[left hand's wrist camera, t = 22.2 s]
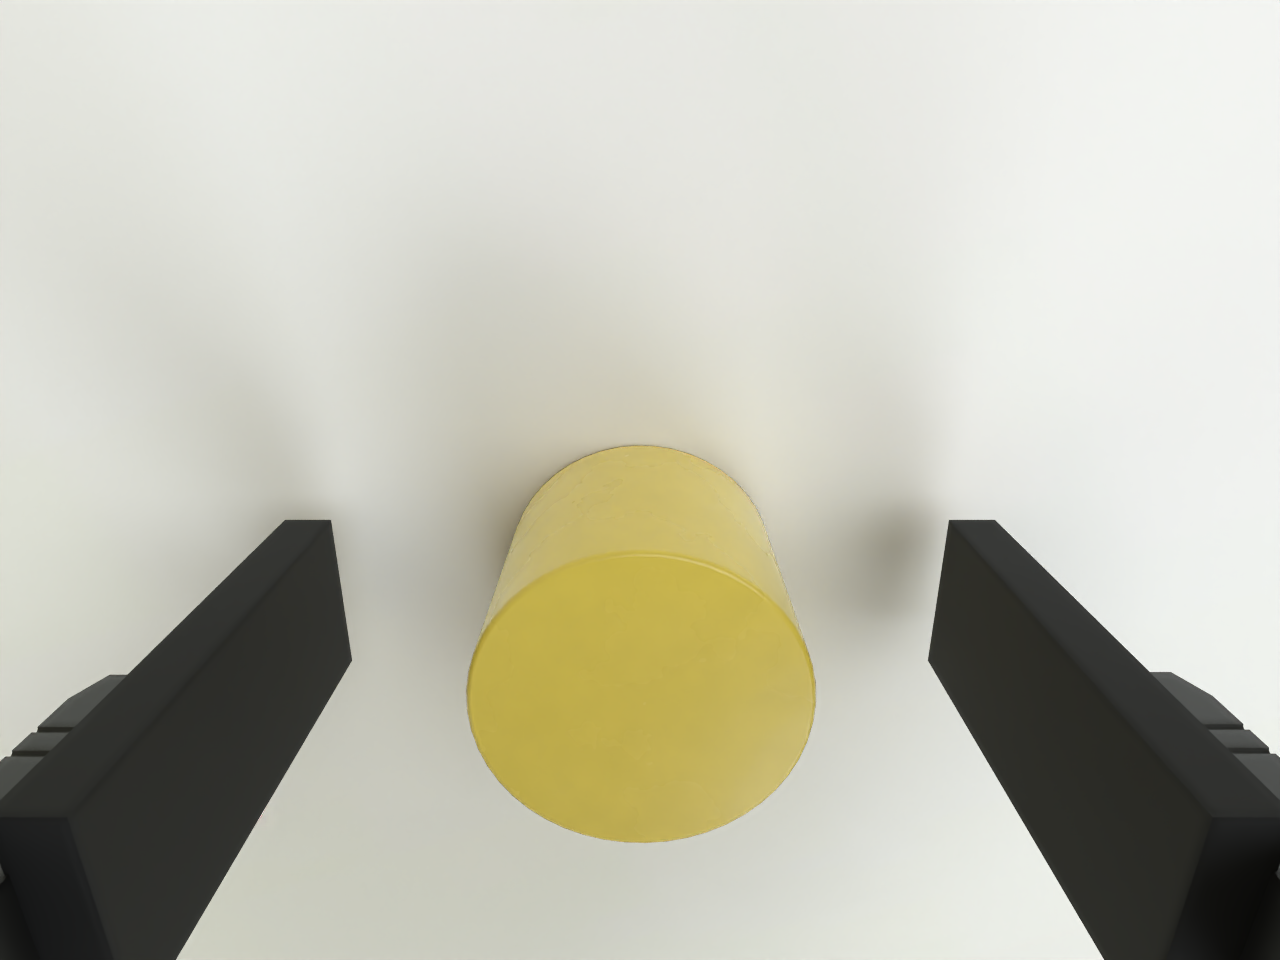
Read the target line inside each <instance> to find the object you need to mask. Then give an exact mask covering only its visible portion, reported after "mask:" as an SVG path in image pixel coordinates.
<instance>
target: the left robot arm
mask: <svg viewBox="0 0 1280 960" xmlns="http://www.w3.org/2000/svg"><path fill="white" fill-rule="evenodd" d="M351 661H352V657H351V650H350V644H349V637H348V630H347V624H346V617H345V611H344V604H343V597H342V591H341V584H340V577H339V571H338V564H337V557H336V551H335V544H334V538H333V531H332V524H331V520H285V521H284V522H283V523H282V524H281V525H280V526H279V527H278V528H277V529H276V530H275V531H273V532H272V533H271V534H270V535H269V536H268V537H267V538H266V539H265V540H264V541H263V542H262V543H261V544H260V545H259V546H258V547H257V548H256V549H255V550H254V551H253V552H252V553H251V554H250V555H249V556H248V557H247V558H246V559H245V560H244V561H243V562H242V563H241V564H240V565H239V566H238V567H237V568H236V569H235V570H234V571H233V572H232V573H231V574H230V575H229V576H228V577H227V578H226V579H225V580H224V581H223V582H222V583H221V584H220V585H219V586H218V587H216V588H215V589H214V590H213V591H212V592H211V593H210V594H209V595H208V596H207V597H206V598H205V599H204V600H203V601H202V602H201V603H200V604H199V605H198V606H197V607H196V608H195V609H194V610H193V611H192V612H191V613H190V614H189V615H188V616H187V617H186V618H185V619H184V620H183V621H182V622H181V623H180V624H179V625H178V626H177V627H176V628H175V629H174V630H173V631H172V632H171V633H170V634H169V635H168V636H167V637H166V638H165V639H164V640H163V641H162V642H161V643H159V644H158V645H157V646H156V647H155V648H154V649H153V650H152V651H151V652H150V653H149V654H148V655H147V656H146V657H145V658H144V659H143V660H142V661H141V662H140V663H139V664H138V665H137V666H136V667H135V668H134V669H133V670H132V671H131V672H130V673H129V674H128V675H109V676H107V677H105V678H104V679H102V680H100V681H98V682H97V683H95V684H93V685H91V686H90V687H88V688H86V689H84V690H83V691H81V692H79V693H78V694H76V695H74V696H72V697H71V698H69V699H68V700H66V701H65V702H64V703H63V704H62V705H61V706H60V707H59V708H58V709H57V710H56V711H55V712H53V713H52V714H51V715H50V716H49V717H48V718H47V719H46V720H45V721H44V722H43V723H42V724H40V725H39V726H38V730H37V732H36V733H31V734H30V735H28V736H27V737H26V738H25V739H24V740H23V741H22V742H21V743H20V744H19V745H18V746H17V747H15V748H14V749H13V750H12V755H11V757H5V758H4V759H2V760H1V761H0V960H176V958H177V957H178V955H179V953H180V952H181V950H182V948H183V947H184V945H185V943H186V941H187V940H188V938H189V936H190V935H191V933H192V931H193V930H194V928H195V926H196V924H197V923H198V921H199V919H200V918H201V916H202V914H203V913H204V911H205V909H206V908H207V906H208V904H209V902H210V901H211V899H212V897H213V896H214V894H215V892H216V891H217V889H218V887H219V885H220V884H221V882H222V880H223V879H224V877H225V875H226V874H227V872H228V870H229V868H230V867H231V865H232V863H233V862H234V860H235V858H236V857H237V855H238V853H239V851H240V850H241V848H242V846H243V845H244V843H245V841H246V840H247V838H248V836H249V834H250V833H251V831H252V829H253V828H254V826H255V824H256V823H257V821H258V819H259V818H260V816H261V814H262V812H263V811H264V809H265V807H266V806H267V804H268V802H269V801H270V799H271V797H272V795H273V794H274V792H275V790H276V789H277V787H278V785H279V784H280V782H281V780H282V778H283V777H284V775H285V773H286V772H287V770H288V768H289V767H290V765H291V763H292V761H293V760H294V758H295V756H296V755H297V753H298V751H299V750H300V748H301V746H302V744H303V743H304V741H305V739H306V738H307V736H308V734H309V733H310V731H311V729H312V728H313V726H314V724H315V722H316V721H317V719H318V717H319V716H320V714H321V712H322V711H323V709H324V707H325V705H326V704H327V702H328V700H329V699H330V697H331V695H332V694H333V692H334V690H335V688H336V687H337V685H338V683H339V682H340V680H341V678H342V677H343V675H344V673H345V671H346V670H347V668H348V666H349V665H350V663H351ZM928 661H929V663H930V665H931V666H932V668H933V670H934V671H935V673H936V675H937V677H938V678H939V680H940V682H941V683H942V685H943V687H944V688H945V690H946V692H947V694H948V695H949V697H950V699H951V700H952V702H953V704H954V705H955V707H956V709H957V711H958V712H959V714H960V716H961V717H962V719H963V721H964V722H965V724H966V726H967V727H968V729H969V731H970V733H971V734H972V736H973V738H974V739H975V741H976V743H977V744H978V746H979V748H980V750H981V751H982V753H983V755H984V756H985V758H986V760H987V761H988V763H989V765H990V767H991V768H992V770H993V772H994V773H995V775H996V777H997V778H998V780H999V782H1000V784H1001V785H1002V787H1003V789H1004V790H1005V792H1006V794H1007V795H1008V797H1009V799H1010V801H1011V802H1012V804H1013V806H1014V807H1015V809H1016V811H1017V812H1018V814H1019V816H1020V817H1021V819H1022V821H1023V823H1024V824H1025V826H1026V828H1027V829H1028V831H1029V833H1030V834H1031V836H1032V838H1033V840H1034V841H1035V843H1036V845H1037V846H1038V848H1039V850H1040V851H1041V853H1042V855H1043V857H1044V858H1045V860H1046V862H1047V863H1048V865H1049V867H1050V868H1051V870H1052V872H1053V874H1054V875H1055V877H1056V879H1057V880H1058V882H1059V884H1060V885H1061V887H1062V889H1063V891H1064V892H1065V894H1066V896H1067V897H1068V899H1069V901H1070V902H1071V904H1072V906H1073V907H1074V909H1075V911H1076V913H1077V914H1078V916H1079V918H1080V919H1081V921H1082V923H1083V924H1084V926H1085V928H1086V930H1087V931H1088V933H1089V935H1090V936H1091V938H1092V940H1093V941H1094V943H1095V945H1096V947H1097V948H1098V950H1099V952H1100V953H1101V955H1102V957H1103V958H1104V960H1280V757H1279V756H1277V755H1276V754H1270V752H1269V747H1268V746H1267V745H1265V744H1264V743H1263V742H1262V741H1261V740H1260V739H1259V738H1258V737H1257V736H1256V735H1255V734H1253V733H1252V732H1251V731H1250V730H1244V728H1243V723H1241V722H1240V721H1239V720H1238V719H1237V718H1236V717H1235V716H1234V715H1233V714H1232V713H1231V712H1229V711H1228V710H1227V709H1226V708H1225V707H1224V706H1223V705H1222V704H1221V703H1220V702H1219V701H1217V700H1216V699H1215V698H1214V697H1213V696H1212V695H1210V694H1208V693H1206V692H1205V691H1203V690H1201V689H1199V688H1198V687H1196V686H1194V685H1192V684H1191V683H1189V682H1187V681H1185V680H1184V679H1182V678H1180V677H1178V676H1177V675H1175V674H1173V673H1171V672H1149V671H1148V670H1147V669H1146V668H1145V667H1144V666H1143V665H1142V664H1141V663H1140V662H1139V661H1138V660H1137V659H1136V658H1135V657H1134V656H1133V655H1132V654H1131V653H1130V652H1129V651H1128V650H1127V649H1126V648H1125V647H1124V646H1123V645H1122V644H1121V643H1119V642H1118V641H1117V640H1116V639H1115V638H1114V637H1113V636H1112V635H1111V634H1110V633H1109V632H1108V631H1107V630H1106V629H1105V628H1104V627H1103V626H1102V625H1101V624H1100V623H1099V622H1098V621H1097V620H1096V619H1095V618H1094V617H1093V616H1092V615H1091V614H1090V613H1089V612H1088V611H1087V610H1086V609H1085V608H1084V607H1083V606H1082V605H1081V604H1080V603H1079V602H1078V601H1077V600H1076V599H1075V598H1074V597H1073V596H1072V595H1071V594H1070V593H1069V592H1068V591H1067V590H1066V589H1065V588H1064V587H1063V586H1061V585H1060V584H1059V583H1058V582H1057V581H1056V580H1055V579H1054V578H1053V577H1052V576H1051V575H1050V574H1049V573H1048V572H1047V571H1046V570H1045V569H1044V568H1043V567H1042V566H1041V565H1040V564H1039V563H1038V562H1037V561H1036V560H1035V559H1034V558H1033V557H1032V556H1031V555H1030V554H1029V553H1028V552H1027V551H1026V550H1025V549H1024V548H1023V547H1022V546H1021V545H1020V544H1019V543H1018V542H1017V541H1016V540H1015V539H1014V538H1013V537H1012V536H1011V535H1010V534H1009V533H1008V532H1007V531H1006V530H1004V529H1003V528H1002V527H1001V526H1000V525H999V524H998V523H997V522H996V521H995V520H949V524H948V531H947V538H946V544H945V551H944V558H943V564H942V571H941V577H940V584H939V591H938V597H937V604H936V611H935V617H934V624H933V631H932V637H931V644H930V650H929V657H928Z"/></svg>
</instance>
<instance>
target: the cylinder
mask: <svg viewBox="0 0 1280 960" xmlns="http://www.w3.org/2000/svg"><path fill="white" fill-rule="evenodd" d="M466 698H467V712H468V717H469V722H470V727H471V731H472V733H473V736H474V739H475V741H476V744H477V747H478V750H479V751H480V753H481V755H482V757H483V759H484V761H485V762H486V764H487V766H488V767H489V769H490V770H491V771H492V773H493V774H494V775H495V777H496V778H497V780H498V781H499V782H500V783H501V784H502V785H503V786H504V787H505V788H506V789H507V790H508V791H509V792H510V793H511V795H512V796H514V797H515V798H516V799H517V800H519V801H520V802H521V803H522V804H524V805H525V806H526V807H527V808H529V809H530V810H532V811H533V812H535V813H537V814H538V815H540V816H541V817H543V818H545V819H546V820H549V821H551V822H553V823H555V824H557V825H559V826H561V827H563V828H566V829H569V830H571V831H574V832H577V833H580V834H583V835H587V836H591V837H595V838H599V839H604V840H611V841H619V842H633V843H651V842H664V841H671V840H677V839H683V838H688V837H692V836H695V835H699V834H702V833H706V832H709V831H711V830H713V829H716V828H718V827H721V826H723V825H726V824H728V823H730V822H732V821H733V820H735V819H737V818H739V817H741V816H743V815H745V814H746V813H747V812H749V811H750V810H752V809H753V808H755V807H756V806H757V805H759V804H760V803H762V802H763V801H764V800H765V799H766V798H767V797H768V796H769V795H770V794H772V793H773V792H774V791H775V790H776V789H777V788H778V787H779V785H780V784H781V783H782V782H783V781H784V780H785V778H786V777H787V776H788V775H789V773H790V772H791V770H792V769H793V767H794V766H795V764H796V763H797V761H798V760H799V758H800V756H801V754H802V751H803V749H804V747H805V745H806V743H807V740H808V737H809V734H810V731H811V727H812V724H813V720H814V713H815V706H816V682H815V676H814V671H813V665H812V662H811V659H810V656H809V653H808V650H807V647H806V644H805V641H804V639H803V636H802V633H801V630H800V627H799V624H798V621H797V619H796V616H795V613H794V610H793V607H792V604H791V601H790V599H789V596H788V593H787V590H786V587H785V584H784V581H783V579H782V576H781V573H780V570H779V567H778V564H777V561H776V559H775V556H774V553H773V550H772V547H771V544H770V541H769V539H768V536H767V533H766V530H765V527H764V524H763V521H762V519H761V517H760V515H759V513H758V511H757V509H756V507H755V506H754V504H753V503H752V501H751V500H750V499H749V497H748V496H747V494H746V493H745V492H744V491H743V490H742V489H741V488H740V487H739V486H738V485H737V483H736V482H735V481H734V480H732V479H731V478H730V477H729V476H727V475H726V474H725V473H724V472H722V471H721V470H720V469H718V468H716V467H715V466H713V465H711V464H710V463H708V462H706V461H704V460H702V459H700V458H697V457H695V456H693V455H691V454H688V453H684V452H681V451H677V450H674V449H669V448H663V447H656V446H627V447H618V448H613V449H609V450H604V451H600V452H597V453H595V454H592V455H589V456H586V457H584V458H582V459H580V460H578V461H576V462H574V463H572V464H570V465H568V466H567V467H565V468H564V469H563V470H561V471H560V472H558V473H557V474H555V475H554V476H553V477H552V478H551V479H550V480H549V481H547V482H546V483H545V484H544V485H543V486H542V487H541V488H540V490H539V491H538V492H537V493H536V494H535V496H534V497H533V498H532V499H531V501H530V503H529V504H528V506H527V507H526V509H525V511H524V512H523V514H522V517H521V519H520V521H519V524H518V526H517V529H516V531H515V534H514V537H513V540H512V543H511V546H510V549H509V552H508V555H507V557H506V560H505V563H504V566H503V569H502V572H501V575H500V578H499V581H498V583H497V586H496V589H495V592H494V595H493V598H492V601H491V604H490V607H489V609H488V612H487V615H486V618H485V621H484V624H483V627H482V630H481V633H480V635H479V638H478V641H477V644H476V647H475V650H474V653H473V656H472V660H471V664H470V667H469V671H468V679H467V688H466Z"/></svg>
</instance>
